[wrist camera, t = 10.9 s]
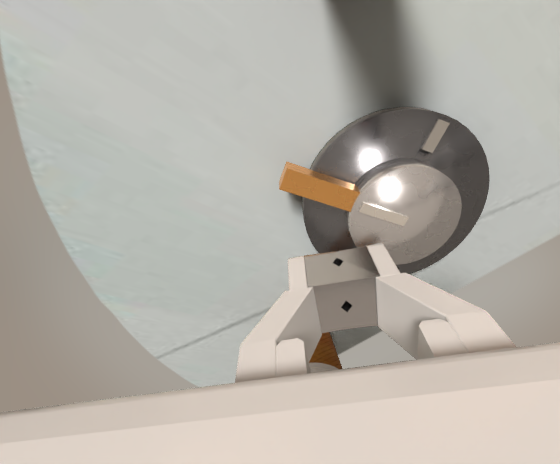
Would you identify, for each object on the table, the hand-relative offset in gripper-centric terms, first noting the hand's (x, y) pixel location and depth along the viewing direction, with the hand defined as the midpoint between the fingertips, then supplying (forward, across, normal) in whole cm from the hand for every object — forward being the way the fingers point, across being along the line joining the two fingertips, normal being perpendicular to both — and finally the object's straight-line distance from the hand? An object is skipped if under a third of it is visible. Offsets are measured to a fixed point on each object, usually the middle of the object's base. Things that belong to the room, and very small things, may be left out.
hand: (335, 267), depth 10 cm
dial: (+22, -6, +8) cm, 24 cm away
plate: (+24, -9, +10) cm, 28 cm away
